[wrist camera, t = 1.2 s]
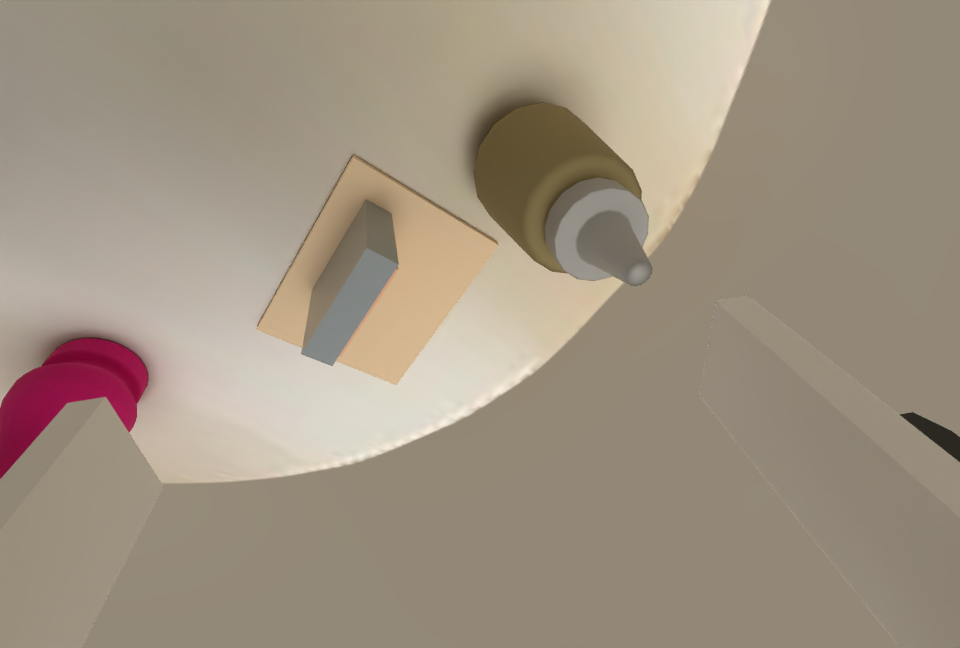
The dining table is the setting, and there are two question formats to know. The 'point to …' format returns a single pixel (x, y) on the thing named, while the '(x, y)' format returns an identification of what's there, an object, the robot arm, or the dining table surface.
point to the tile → (351, 284)
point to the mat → (413, 290)
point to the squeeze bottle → (563, 195)
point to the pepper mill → (69, 391)
